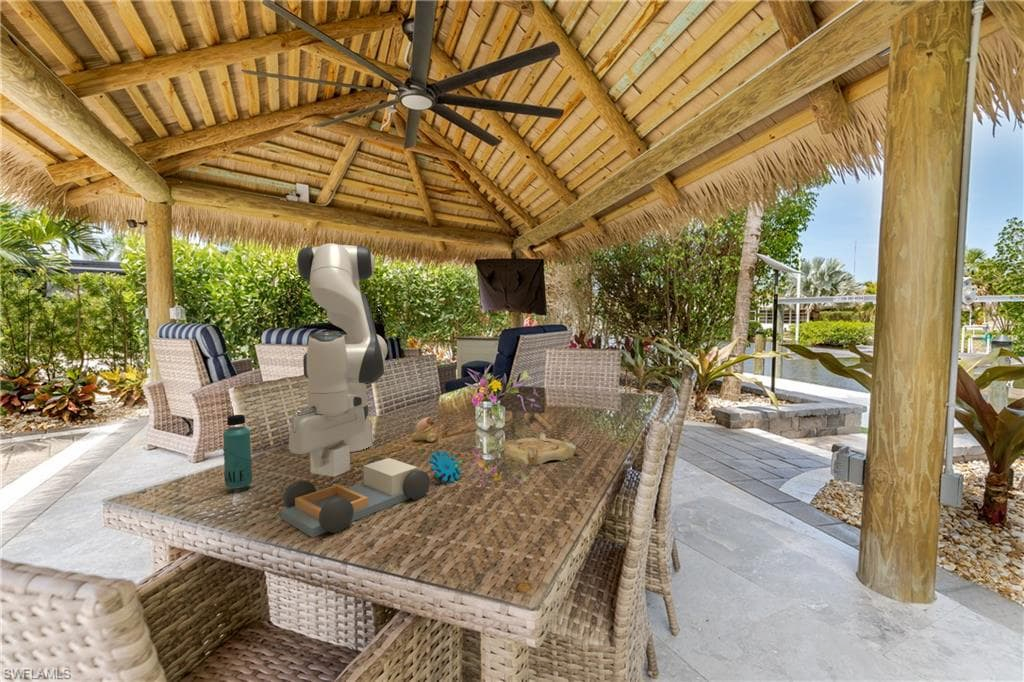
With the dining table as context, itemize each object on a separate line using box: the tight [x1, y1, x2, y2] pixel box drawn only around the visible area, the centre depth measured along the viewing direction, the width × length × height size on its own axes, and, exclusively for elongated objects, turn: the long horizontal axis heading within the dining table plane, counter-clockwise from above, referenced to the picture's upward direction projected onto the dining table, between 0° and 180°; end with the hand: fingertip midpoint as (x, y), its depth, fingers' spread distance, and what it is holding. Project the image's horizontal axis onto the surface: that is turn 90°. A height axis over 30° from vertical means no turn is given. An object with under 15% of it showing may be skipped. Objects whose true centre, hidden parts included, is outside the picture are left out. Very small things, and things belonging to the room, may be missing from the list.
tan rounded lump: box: [411, 416, 439, 443], centre depth 168 cm, size 9×10×10 cm
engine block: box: [309, 443, 351, 477], centre depth 108 cm, size 7×5×6 cm
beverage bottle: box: [222, 414, 253, 489], centre depth 123 cm, size 6×7×20 cm
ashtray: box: [501, 432, 578, 466], centre depth 154 cm, size 24×24×5 cm
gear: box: [428, 449, 463, 483], centre depth 132 cm, size 11×6×10 cm
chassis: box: [280, 456, 431, 539], centre depth 114 cm, size 18×32×7 cm, turn 141°
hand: (330, 462), depth 108 cm, fingers closed on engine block, 5 cm apart
